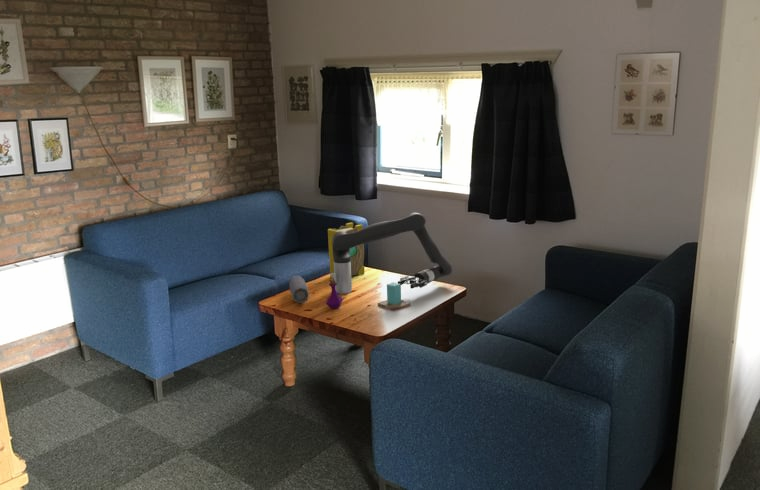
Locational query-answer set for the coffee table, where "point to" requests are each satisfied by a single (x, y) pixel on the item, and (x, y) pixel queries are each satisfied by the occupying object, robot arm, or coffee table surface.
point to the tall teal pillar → (393, 293)
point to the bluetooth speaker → (298, 289)
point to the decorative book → (355, 251)
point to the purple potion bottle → (333, 295)
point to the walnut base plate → (394, 307)
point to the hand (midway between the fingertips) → (404, 285)
